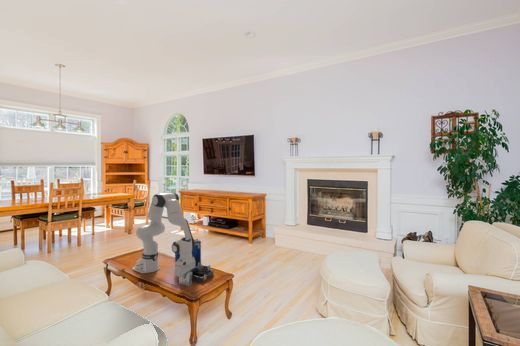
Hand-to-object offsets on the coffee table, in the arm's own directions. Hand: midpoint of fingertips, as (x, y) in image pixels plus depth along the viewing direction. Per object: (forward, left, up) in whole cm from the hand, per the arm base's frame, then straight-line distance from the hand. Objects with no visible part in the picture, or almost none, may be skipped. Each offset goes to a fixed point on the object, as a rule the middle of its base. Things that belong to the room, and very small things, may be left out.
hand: (185, 277), depth 198 cm
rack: (+4, +14, -4) cm, 16 cm away
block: (0, 0, -4) cm, 4 cm away
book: (-14, +21, -5) cm, 26 cm away
